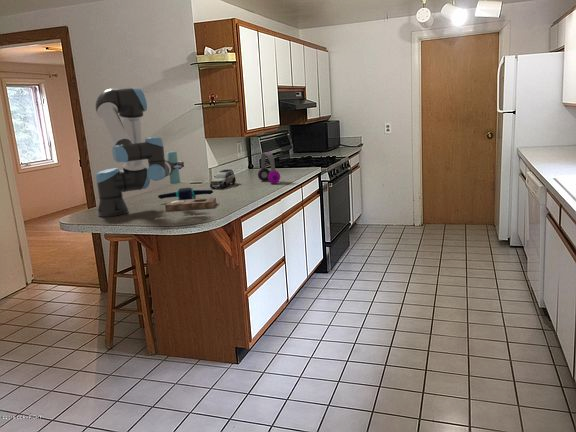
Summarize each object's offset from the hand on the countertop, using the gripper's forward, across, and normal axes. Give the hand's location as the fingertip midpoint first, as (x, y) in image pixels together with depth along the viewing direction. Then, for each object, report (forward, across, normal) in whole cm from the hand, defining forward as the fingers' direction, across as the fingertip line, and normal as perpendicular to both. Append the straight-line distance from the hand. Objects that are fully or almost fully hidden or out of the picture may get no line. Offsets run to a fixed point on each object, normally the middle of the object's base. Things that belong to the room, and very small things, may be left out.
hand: (175, 163), depth 262 cm
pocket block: (-5, +7, -24) cm, 25 cm away
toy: (+24, -2, -24) cm, 34 cm away
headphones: (+70, +43, -24) cm, 85 cm away
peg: (-5, 0, -10) cm, 11 cm away
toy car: (+66, +13, -24) cm, 72 cm away
